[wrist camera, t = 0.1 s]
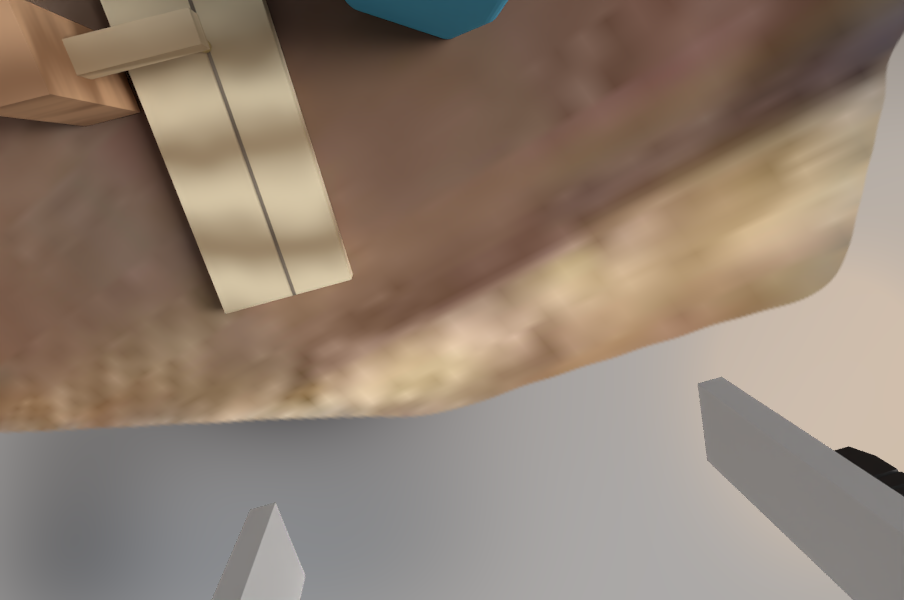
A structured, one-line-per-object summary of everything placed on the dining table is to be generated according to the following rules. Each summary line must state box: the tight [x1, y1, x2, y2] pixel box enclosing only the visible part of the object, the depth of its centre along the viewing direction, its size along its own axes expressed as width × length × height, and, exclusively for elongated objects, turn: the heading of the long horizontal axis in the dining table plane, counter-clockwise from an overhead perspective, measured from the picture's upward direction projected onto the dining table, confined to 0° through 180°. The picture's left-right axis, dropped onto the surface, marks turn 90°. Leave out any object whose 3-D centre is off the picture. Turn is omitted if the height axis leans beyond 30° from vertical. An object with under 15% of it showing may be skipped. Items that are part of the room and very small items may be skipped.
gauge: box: [0, 0, 212, 126], centre depth 31 cm, size 5×12×10 cm, turn 104°
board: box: [100, 0, 353, 314], centre depth 37 cm, size 24×10×2 cm, turn 14°
